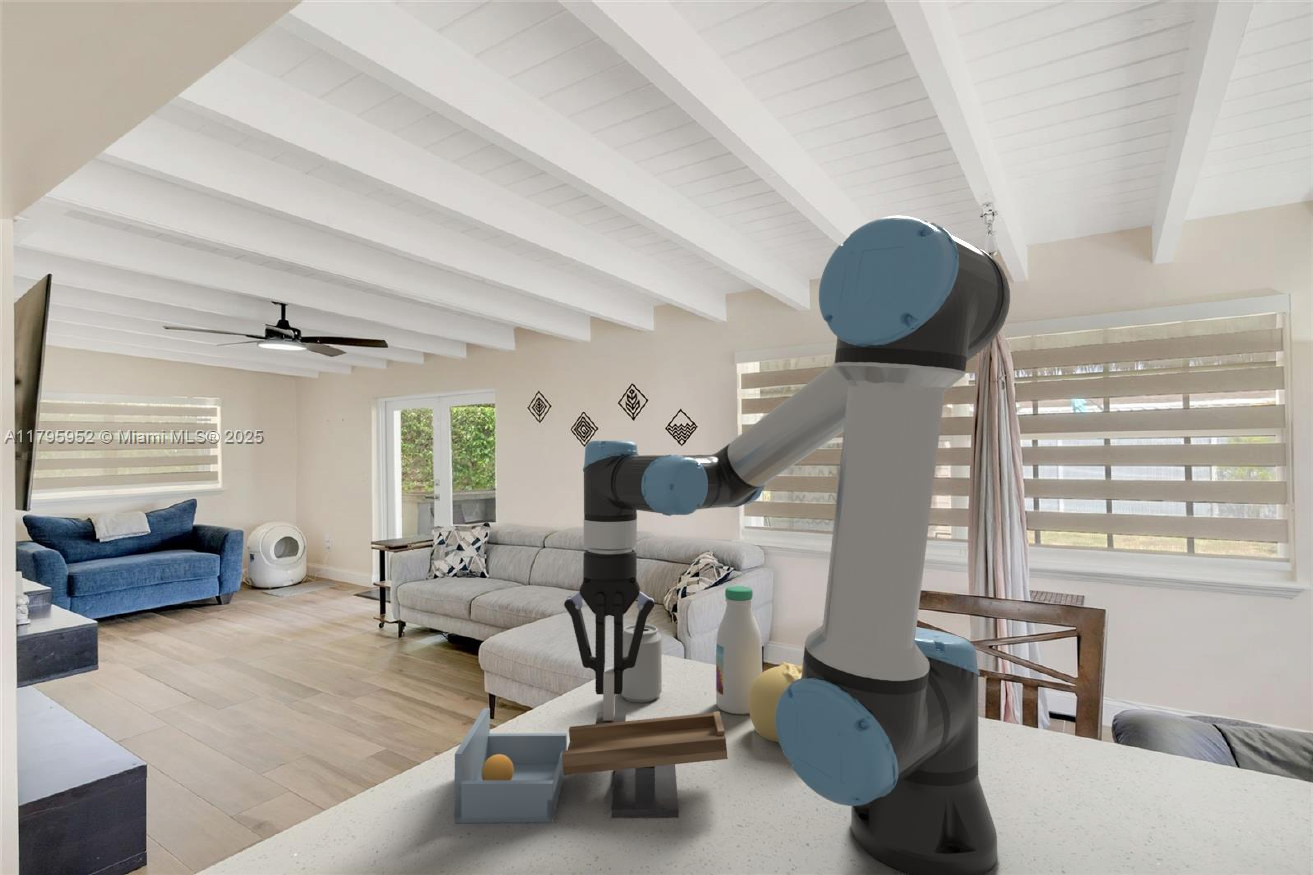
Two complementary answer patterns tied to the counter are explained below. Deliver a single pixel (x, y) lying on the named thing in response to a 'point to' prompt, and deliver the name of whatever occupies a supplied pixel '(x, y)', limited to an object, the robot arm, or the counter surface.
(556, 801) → the box
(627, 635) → the can
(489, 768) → the ball
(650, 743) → the seesaw chute
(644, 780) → the pivot stand
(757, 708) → the sculpture
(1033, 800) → the counter surface
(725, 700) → the milk bottle
